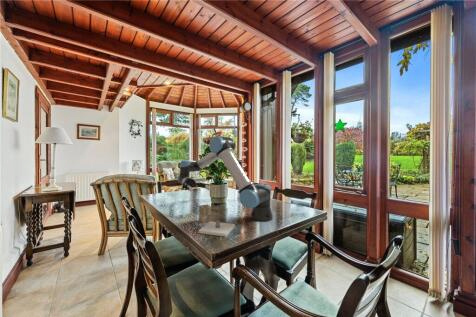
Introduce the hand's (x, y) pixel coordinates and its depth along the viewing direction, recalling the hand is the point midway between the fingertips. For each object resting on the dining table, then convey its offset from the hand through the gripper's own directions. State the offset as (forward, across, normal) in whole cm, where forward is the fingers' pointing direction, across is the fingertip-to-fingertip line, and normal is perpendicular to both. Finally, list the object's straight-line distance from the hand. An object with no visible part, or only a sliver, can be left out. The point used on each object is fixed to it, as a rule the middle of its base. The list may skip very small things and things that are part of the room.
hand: (200, 189), depth 143 cm
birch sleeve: (+10, 0, -19) cm, 21 cm away
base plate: (+27, 0, -17) cm, 32 cm away
